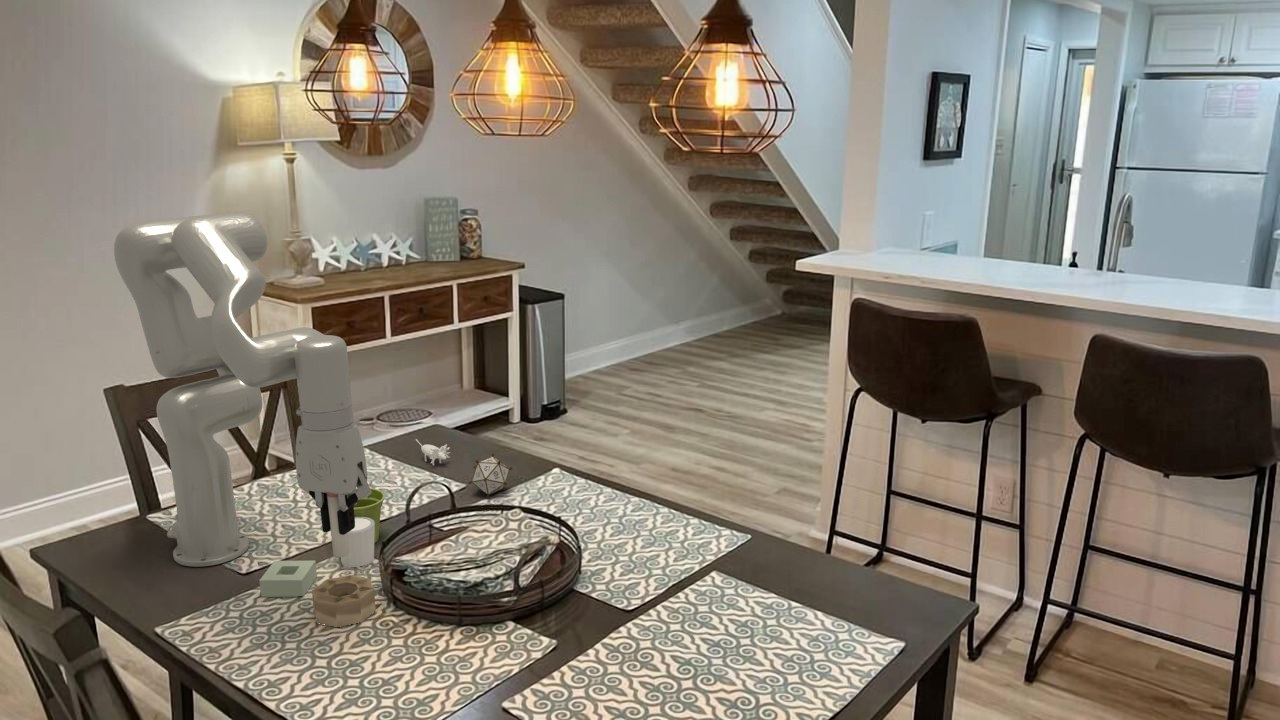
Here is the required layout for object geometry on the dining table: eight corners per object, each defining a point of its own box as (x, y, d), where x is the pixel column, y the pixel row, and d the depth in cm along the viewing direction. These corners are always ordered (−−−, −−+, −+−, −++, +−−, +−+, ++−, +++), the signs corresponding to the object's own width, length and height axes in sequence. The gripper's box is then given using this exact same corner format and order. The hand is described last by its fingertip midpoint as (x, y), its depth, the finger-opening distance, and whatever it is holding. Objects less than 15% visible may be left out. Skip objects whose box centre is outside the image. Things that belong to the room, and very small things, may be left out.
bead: (303, 620, 151) (300, 598, 150) (338, 594, 160) (336, 572, 159) (351, 631, 148) (349, 607, 147) (385, 603, 157) (383, 581, 156)
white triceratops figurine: (454, 465, 216) (453, 445, 215) (434, 471, 213) (432, 451, 212) (426, 451, 225) (425, 432, 224) (406, 457, 221) (404, 437, 220)
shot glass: (366, 570, 168) (363, 534, 166) (330, 567, 169) (326, 530, 167) (384, 553, 174) (381, 517, 172) (349, 550, 175) (346, 514, 174)
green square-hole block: (261, 596, 159) (259, 580, 158) (276, 576, 166) (274, 560, 165) (303, 596, 159) (301, 580, 158) (317, 576, 166) (315, 560, 165)
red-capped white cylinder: (330, 556, 150) (322, 484, 147) (339, 549, 152) (332, 478, 149) (343, 558, 149) (335, 485, 146) (352, 551, 152) (345, 480, 149)
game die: (490, 506, 204) (495, 460, 207) (517, 501, 198) (522, 454, 202) (457, 496, 197) (463, 449, 201) (484, 491, 192) (490, 443, 196)
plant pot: (396, 531, 183) (393, 489, 181) (374, 554, 174) (371, 509, 172) (350, 528, 184) (346, 486, 182) (326, 550, 175) (322, 506, 173)
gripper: (267, 420, 145) (280, 533, 149) (357, 430, 139) (368, 547, 144) (300, 406, 152) (312, 514, 156) (387, 414, 146) (397, 527, 151)
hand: (339, 529), depth 150 cm, fingers closed on red-capped white cylinder, 2 cm apart
